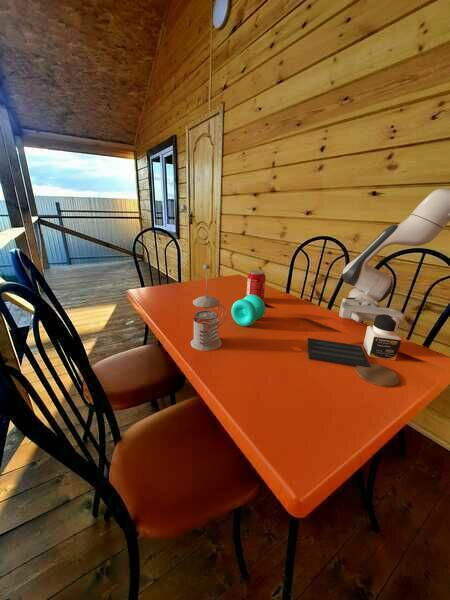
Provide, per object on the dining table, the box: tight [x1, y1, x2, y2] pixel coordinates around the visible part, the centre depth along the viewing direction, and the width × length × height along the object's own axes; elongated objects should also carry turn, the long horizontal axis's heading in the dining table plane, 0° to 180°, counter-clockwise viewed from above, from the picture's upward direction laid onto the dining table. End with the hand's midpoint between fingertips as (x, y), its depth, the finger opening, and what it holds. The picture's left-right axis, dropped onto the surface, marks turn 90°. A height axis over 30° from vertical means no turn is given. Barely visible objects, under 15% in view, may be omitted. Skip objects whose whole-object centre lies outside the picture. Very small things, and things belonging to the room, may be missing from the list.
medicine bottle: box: [362, 314, 402, 361], centre depth 75 cm, size 7×7×12 cm
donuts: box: [230, 295, 266, 327], centre depth 94 cm, size 10×10×10 cm
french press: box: [190, 263, 227, 352], centre depth 76 cm, size 10×12×25 cm
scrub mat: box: [307, 337, 371, 368], centre depth 76 cm, size 16×12×1 cm
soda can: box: [245, 269, 267, 303], centre depth 112 cm, size 8×8×15 cm
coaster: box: [354, 362, 400, 388], centre depth 67 cm, size 10×10×1 cm
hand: (375, 322), depth 83 cm, fingers open, 8 cm apart
